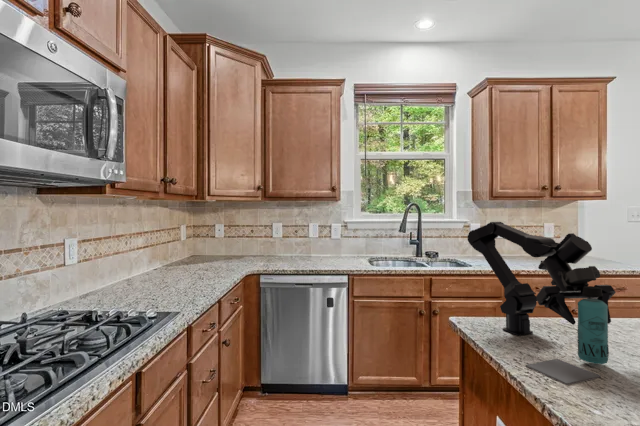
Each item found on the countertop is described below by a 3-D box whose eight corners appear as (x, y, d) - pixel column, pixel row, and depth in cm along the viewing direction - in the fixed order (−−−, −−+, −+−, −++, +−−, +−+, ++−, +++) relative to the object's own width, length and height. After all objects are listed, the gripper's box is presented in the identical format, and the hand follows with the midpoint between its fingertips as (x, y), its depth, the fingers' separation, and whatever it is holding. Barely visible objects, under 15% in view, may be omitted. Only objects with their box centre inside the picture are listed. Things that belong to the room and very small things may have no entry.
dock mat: (525, 366, 94) (525, 364, 94) (557, 360, 98) (557, 358, 98) (566, 385, 84) (566, 383, 84) (600, 377, 87) (600, 375, 87)
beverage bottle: (571, 360, 97) (570, 284, 98) (597, 359, 97) (595, 284, 97) (588, 370, 91) (587, 289, 91) (616, 370, 91) (614, 289, 91)
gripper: (541, 256, 100) (571, 307, 89) (609, 255, 100) (647, 305, 89) (525, 280, 108) (550, 330, 96) (588, 279, 108) (620, 328, 97)
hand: (591, 323), depth 95 cm, fingers open, 9 cm apart
